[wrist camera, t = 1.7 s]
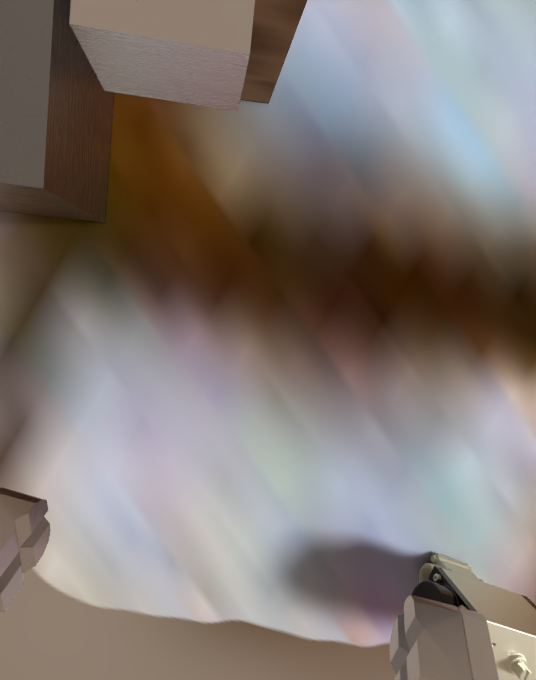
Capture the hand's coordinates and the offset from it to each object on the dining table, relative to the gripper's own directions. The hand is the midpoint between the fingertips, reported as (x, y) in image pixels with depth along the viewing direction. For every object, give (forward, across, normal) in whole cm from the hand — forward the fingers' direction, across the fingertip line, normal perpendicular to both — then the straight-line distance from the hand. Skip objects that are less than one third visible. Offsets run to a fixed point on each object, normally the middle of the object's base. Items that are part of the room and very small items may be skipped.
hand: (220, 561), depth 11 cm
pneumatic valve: (+25, -17, +29) cm, 42 cm away
